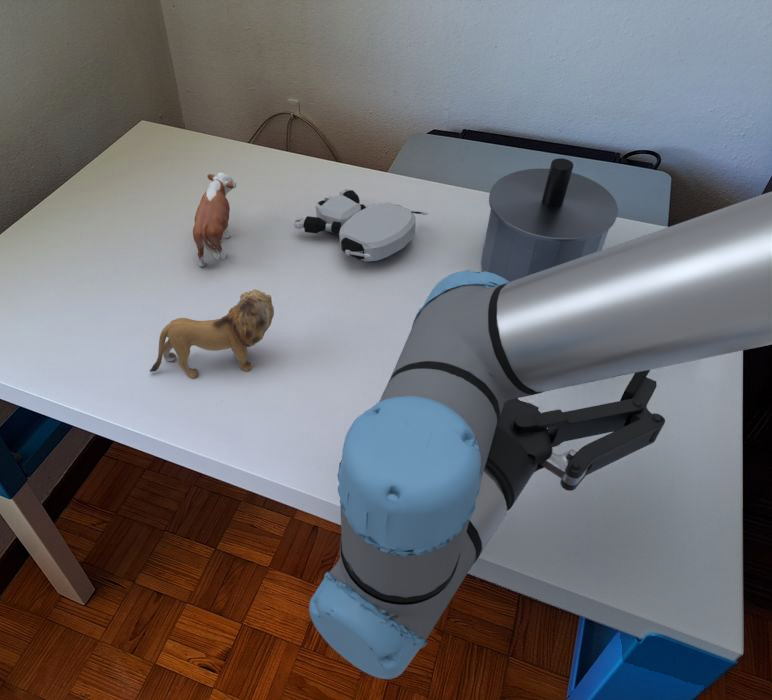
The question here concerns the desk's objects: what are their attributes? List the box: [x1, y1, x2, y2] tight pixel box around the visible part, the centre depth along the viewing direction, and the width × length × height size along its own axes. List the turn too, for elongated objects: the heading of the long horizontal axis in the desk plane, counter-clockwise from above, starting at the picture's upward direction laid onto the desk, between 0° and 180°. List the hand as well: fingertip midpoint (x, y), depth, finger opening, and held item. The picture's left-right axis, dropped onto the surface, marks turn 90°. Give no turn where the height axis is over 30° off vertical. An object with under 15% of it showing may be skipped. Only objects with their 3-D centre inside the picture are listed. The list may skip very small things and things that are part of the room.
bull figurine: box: [192, 171, 237, 268], centre depth 91 cm, size 4×13×8 cm, turn 170°
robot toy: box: [293, 188, 430, 263], centre depth 92 cm, size 12×4×15 cm
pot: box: [480, 209, 609, 282], centre depth 84 cm, size 14×14×10 cm
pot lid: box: [488, 157, 619, 242], centre depth 79 cm, size 15×15×6 cm
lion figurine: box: [149, 289, 275, 379], centre depth 75 cm, size 15×5×9 cm, turn 104°
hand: (577, 325), depth 63 cm, fingers open, 13 cm apart
